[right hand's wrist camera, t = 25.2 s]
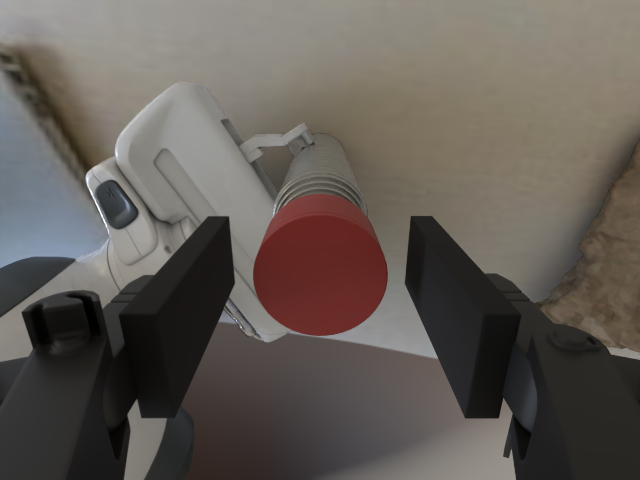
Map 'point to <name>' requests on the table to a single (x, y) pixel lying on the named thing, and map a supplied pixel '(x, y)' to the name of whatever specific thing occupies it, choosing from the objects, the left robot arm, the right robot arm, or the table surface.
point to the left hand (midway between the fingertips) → (330, 165)
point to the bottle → (320, 174)
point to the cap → (320, 266)
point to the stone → (606, 270)
